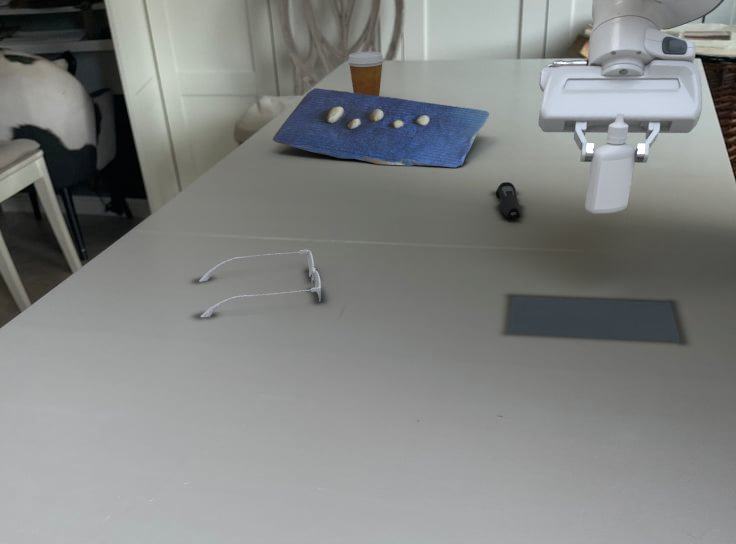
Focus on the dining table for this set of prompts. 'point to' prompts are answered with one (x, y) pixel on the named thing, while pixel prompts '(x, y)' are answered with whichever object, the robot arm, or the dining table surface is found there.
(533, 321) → the mat
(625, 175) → the eye dropper bottle
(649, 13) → the robot arm
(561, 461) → the dining table surface
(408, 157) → the mat
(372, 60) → the disposable coffee cup
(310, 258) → the eyeglasses
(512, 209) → the electric trimmer
